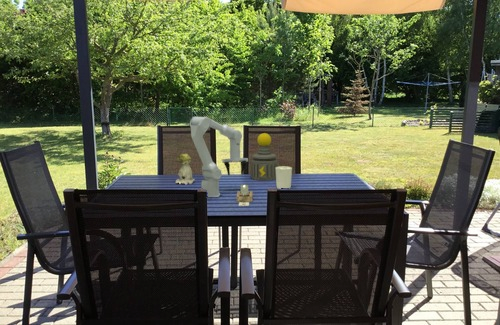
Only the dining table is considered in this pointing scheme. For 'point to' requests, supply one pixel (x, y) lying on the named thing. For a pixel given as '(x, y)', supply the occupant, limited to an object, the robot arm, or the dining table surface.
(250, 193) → the tan frame
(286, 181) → the candle holder
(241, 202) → the key card
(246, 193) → the pin
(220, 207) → the dining table surface
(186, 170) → the cream figurine
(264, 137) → the decorative lamp
